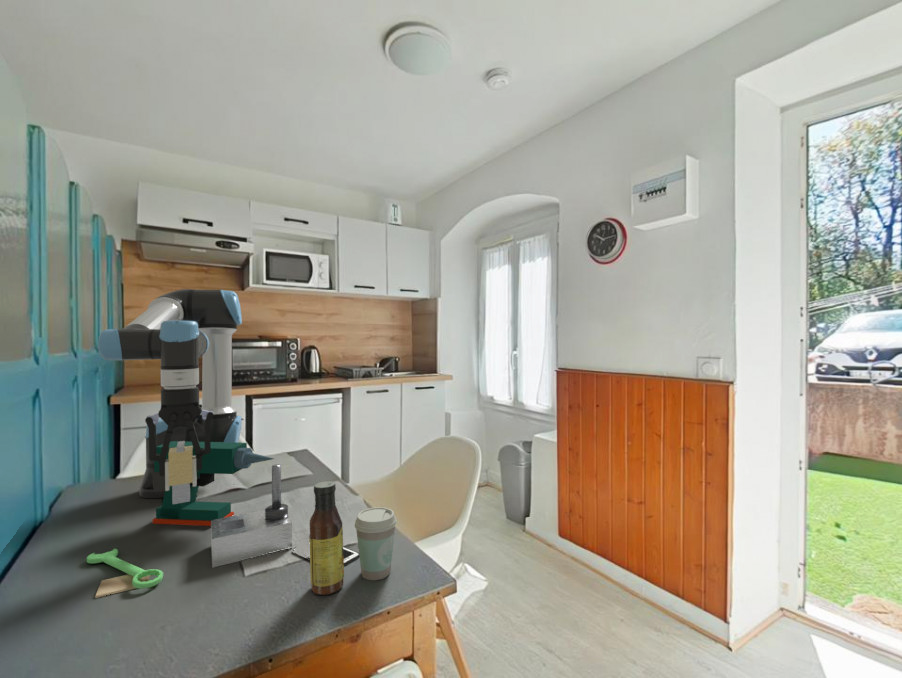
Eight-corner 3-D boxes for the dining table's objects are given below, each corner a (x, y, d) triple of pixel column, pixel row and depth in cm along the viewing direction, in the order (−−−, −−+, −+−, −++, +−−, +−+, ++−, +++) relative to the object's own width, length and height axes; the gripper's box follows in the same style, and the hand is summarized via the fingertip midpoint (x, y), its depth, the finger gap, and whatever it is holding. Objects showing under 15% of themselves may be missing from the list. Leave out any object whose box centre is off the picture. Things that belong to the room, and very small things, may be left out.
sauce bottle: (350, 586, 83) (349, 484, 83) (321, 601, 78) (320, 492, 78) (332, 574, 87) (331, 476, 87) (303, 587, 83) (302, 484, 83)
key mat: (101, 582, 85) (101, 580, 85) (150, 571, 89) (150, 569, 89) (95, 598, 80) (95, 596, 80) (147, 585, 84) (147, 583, 84)
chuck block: (211, 546, 100) (210, 468, 100) (284, 530, 108) (283, 458, 108) (212, 567, 90) (211, 482, 90) (292, 548, 98) (291, 470, 98)
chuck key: (170, 498, 101) (169, 442, 101) (193, 494, 104) (192, 440, 103) (168, 507, 96) (168, 448, 96) (192, 502, 98) (192, 445, 98)
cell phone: (318, 540, 103) (318, 536, 103) (361, 558, 94) (361, 553, 94) (290, 553, 97) (290, 549, 97) (333, 573, 88) (333, 569, 88)
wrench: (111, 554, 97) (82, 564, 93) (111, 545, 97) (82, 554, 93) (169, 579, 85) (138, 592, 80) (169, 569, 85) (138, 582, 80)
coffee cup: (377, 589, 82) (377, 526, 82) (345, 576, 86) (345, 517, 86) (405, 569, 89) (405, 511, 89) (374, 558, 94) (374, 503, 94)
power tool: (282, 516, 116) (281, 442, 116) (268, 528, 109) (268, 449, 109) (172, 512, 119) (172, 440, 119) (152, 523, 112) (152, 447, 112)
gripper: (130, 391, 92) (132, 499, 92) (224, 386, 101) (224, 484, 101) (135, 387, 98) (136, 488, 99) (222, 382, 107) (223, 475, 108)
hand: (181, 486), depth 100 cm, fingers closed on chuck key, 5 cm apart
